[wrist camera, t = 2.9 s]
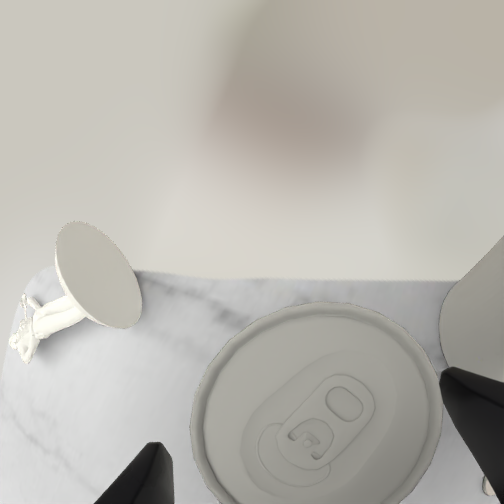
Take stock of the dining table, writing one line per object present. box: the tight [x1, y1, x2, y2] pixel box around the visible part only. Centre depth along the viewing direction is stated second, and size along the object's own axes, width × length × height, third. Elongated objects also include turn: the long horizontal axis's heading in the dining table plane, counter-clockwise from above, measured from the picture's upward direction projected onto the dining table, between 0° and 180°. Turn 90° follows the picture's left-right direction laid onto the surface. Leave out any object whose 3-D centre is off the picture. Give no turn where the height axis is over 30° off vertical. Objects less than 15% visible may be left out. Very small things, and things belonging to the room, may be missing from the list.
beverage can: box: [190, 302, 443, 504], centre depth 9 cm, size 5×5×12 cm
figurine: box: [9, 221, 142, 364], centre depth 16 cm, size 7×7×12 cm
